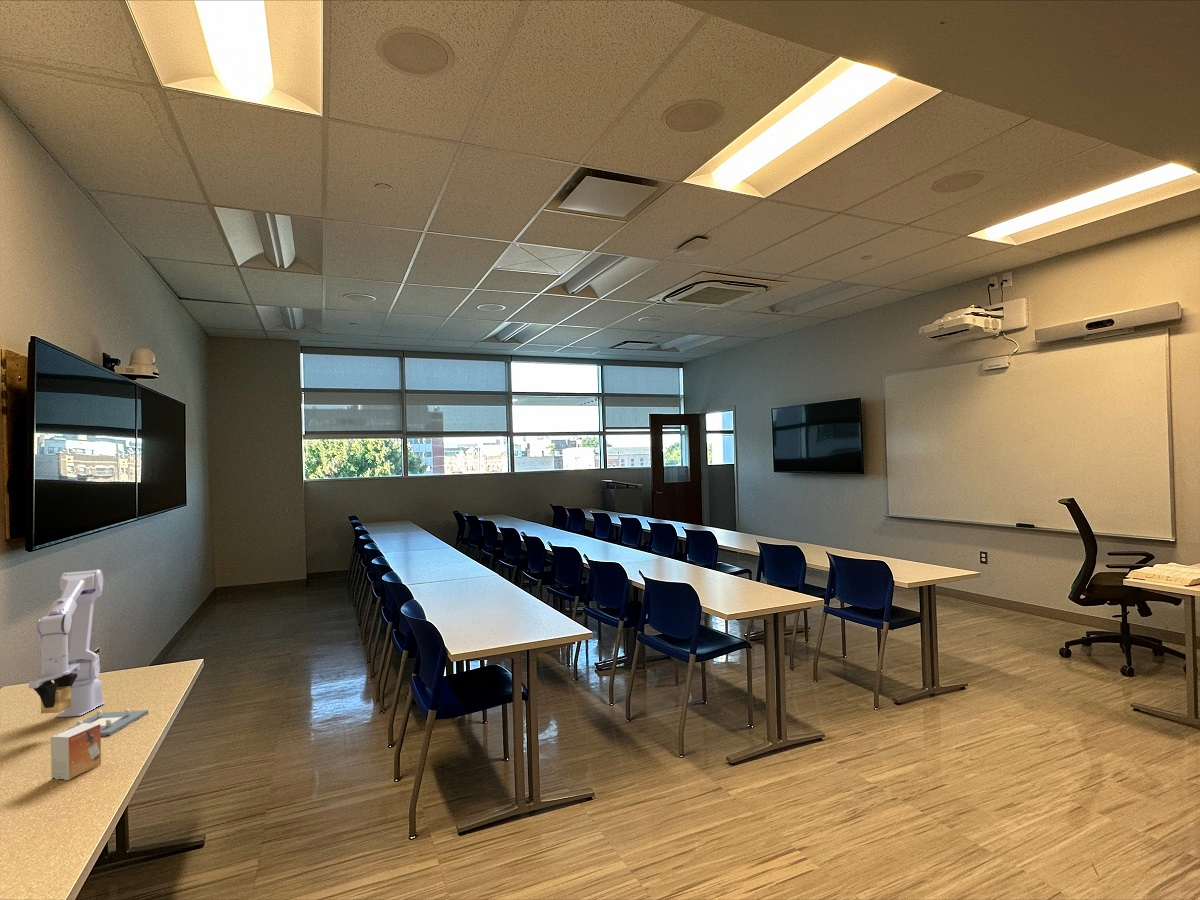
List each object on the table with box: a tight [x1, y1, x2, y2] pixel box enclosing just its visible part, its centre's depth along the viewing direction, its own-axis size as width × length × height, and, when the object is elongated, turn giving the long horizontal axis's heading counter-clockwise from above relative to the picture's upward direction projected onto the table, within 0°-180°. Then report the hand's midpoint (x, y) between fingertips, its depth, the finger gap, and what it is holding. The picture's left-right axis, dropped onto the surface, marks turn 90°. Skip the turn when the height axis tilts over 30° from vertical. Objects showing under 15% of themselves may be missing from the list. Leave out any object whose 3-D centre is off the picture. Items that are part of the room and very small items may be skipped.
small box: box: [50, 723, 102, 781], centre depth 150 cm, size 8×6×10 cm
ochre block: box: [40, 686, 71, 715], centre depth 172 cm, size 4×5×6 cm
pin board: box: [58, 708, 149, 737], centre depth 177 cm, size 15×15×3 cm
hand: (56, 704), depth 172 cm, fingers closed on ochre block, 4 cm apart
